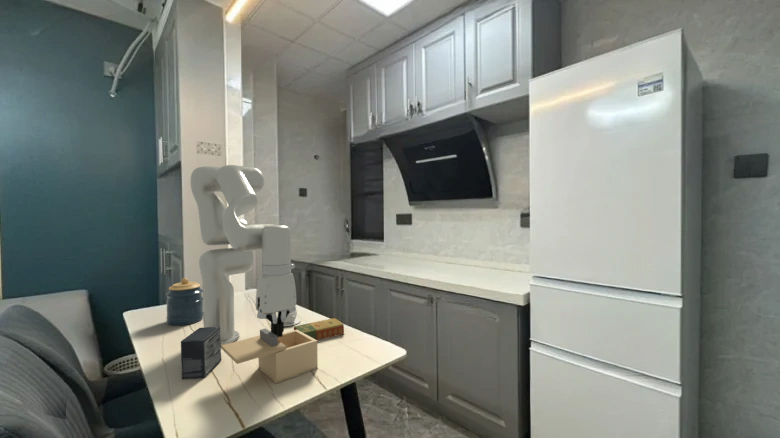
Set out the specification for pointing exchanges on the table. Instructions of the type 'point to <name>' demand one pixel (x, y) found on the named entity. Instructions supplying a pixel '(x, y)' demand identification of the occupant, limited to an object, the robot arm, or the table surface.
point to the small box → (200, 352)
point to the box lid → (254, 347)
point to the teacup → (291, 319)
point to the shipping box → (291, 357)
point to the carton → (322, 329)
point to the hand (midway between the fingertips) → (277, 335)
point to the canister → (184, 303)
